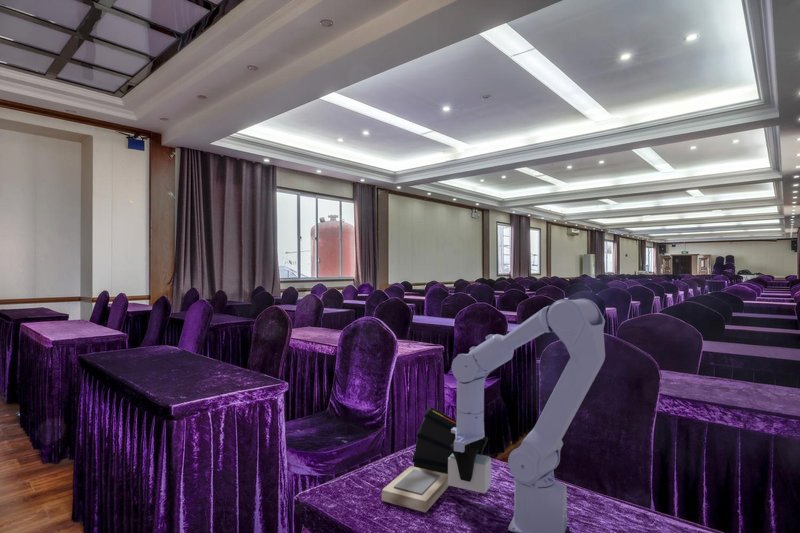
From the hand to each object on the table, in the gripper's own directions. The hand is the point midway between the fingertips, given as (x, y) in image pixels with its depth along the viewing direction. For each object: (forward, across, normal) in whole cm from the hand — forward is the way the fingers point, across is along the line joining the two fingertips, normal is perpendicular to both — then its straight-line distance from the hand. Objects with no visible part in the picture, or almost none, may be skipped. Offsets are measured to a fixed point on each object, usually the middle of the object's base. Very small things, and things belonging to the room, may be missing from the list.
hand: (469, 475), depth 94 cm
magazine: (+5, -11, -11) cm, 16 cm away
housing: (+2, 0, 0) cm, 2 cm away
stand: (+5, +2, -11) cm, 12 cm away
